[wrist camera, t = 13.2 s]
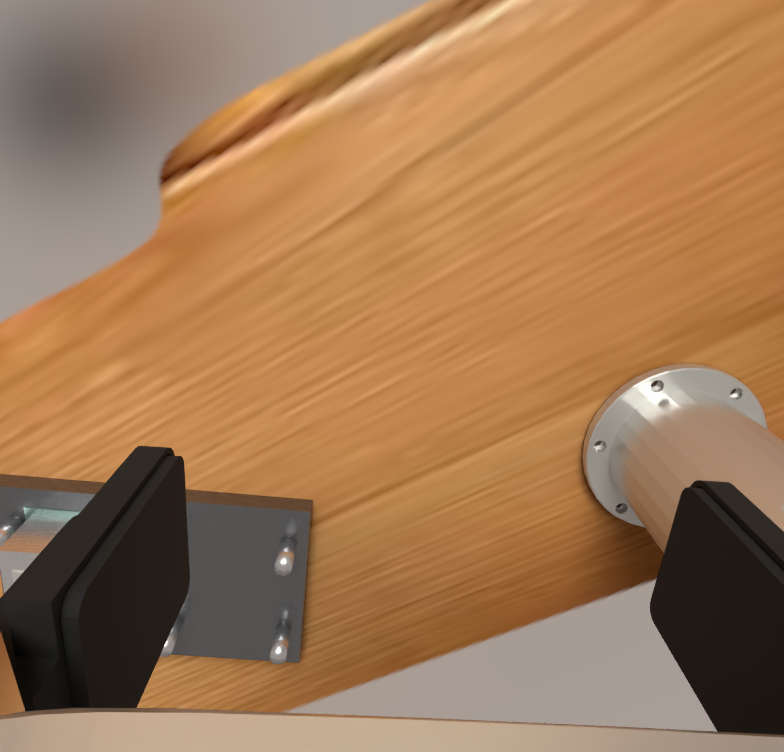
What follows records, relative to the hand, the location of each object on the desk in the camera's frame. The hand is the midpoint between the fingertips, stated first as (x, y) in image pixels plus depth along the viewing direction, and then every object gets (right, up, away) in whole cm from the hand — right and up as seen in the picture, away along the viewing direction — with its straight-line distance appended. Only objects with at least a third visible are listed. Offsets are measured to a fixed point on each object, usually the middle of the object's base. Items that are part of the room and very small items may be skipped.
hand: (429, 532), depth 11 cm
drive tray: (-18, -12, +33) cm, 40 cm away
